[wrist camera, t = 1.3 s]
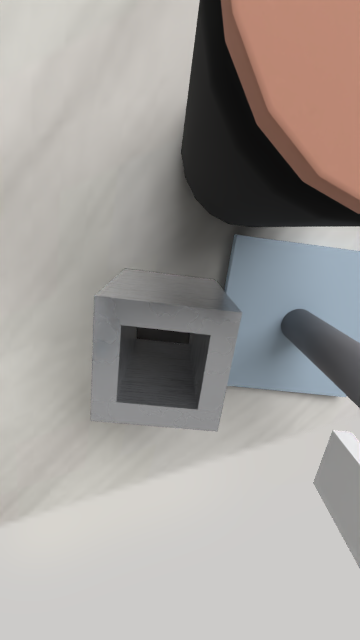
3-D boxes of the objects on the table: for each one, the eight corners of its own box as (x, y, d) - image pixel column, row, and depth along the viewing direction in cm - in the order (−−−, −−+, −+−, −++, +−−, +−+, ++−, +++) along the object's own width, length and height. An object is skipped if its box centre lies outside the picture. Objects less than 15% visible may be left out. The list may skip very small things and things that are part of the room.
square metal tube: (119, 351, 26) (90, 420, 17) (124, 268, 24) (94, 295, 14) (201, 359, 27) (217, 431, 18) (214, 279, 24) (242, 312, 15)
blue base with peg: (208, 378, 28) (237, 499, 15) (234, 234, 23) (304, 242, 11) (340, 391, 29) (467, 515, 16) (389, 255, 24) (614, 284, 12)
